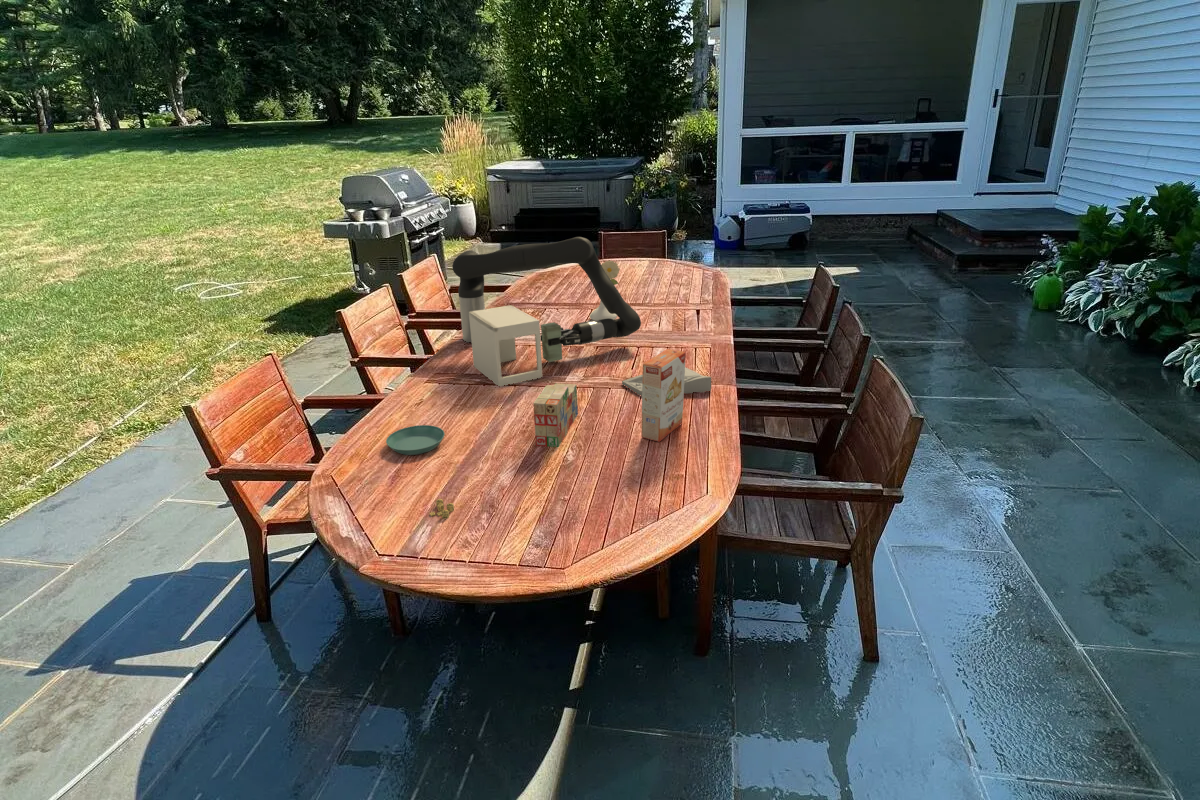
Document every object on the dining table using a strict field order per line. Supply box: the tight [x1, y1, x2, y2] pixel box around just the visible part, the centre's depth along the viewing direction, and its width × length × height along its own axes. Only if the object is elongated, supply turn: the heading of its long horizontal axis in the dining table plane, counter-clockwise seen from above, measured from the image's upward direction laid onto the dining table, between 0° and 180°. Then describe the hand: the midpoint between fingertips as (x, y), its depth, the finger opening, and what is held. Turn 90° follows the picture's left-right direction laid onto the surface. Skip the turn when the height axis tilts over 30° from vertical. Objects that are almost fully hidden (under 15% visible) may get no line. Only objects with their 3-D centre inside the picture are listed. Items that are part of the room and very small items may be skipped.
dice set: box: [429, 498, 455, 520], centre depth 144 cm, size 5×5×2 cm
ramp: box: [621, 366, 712, 397], centre depth 207 cm, size 28×16×5 cm, turn 78°
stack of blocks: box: [532, 382, 579, 448], centre depth 179 cm, size 21×6×12 cm, turn 168°
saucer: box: [385, 424, 446, 456], centre depth 174 cm, size 15×15×3 cm
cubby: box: [469, 304, 543, 387], centre depth 220 cm, size 22×15×19 cm
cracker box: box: [640, 348, 687, 443], centre depth 175 cm, size 14×6×21 cm, turn 148°
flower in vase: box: [589, 260, 621, 321], centre depth 273 cm, size 13×11×25 cm
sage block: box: [540, 322, 563, 363], centre depth 228 cm, size 5×5×12 cm
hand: (544, 340), depth 227 cm, fingers closed on sage block, 5 cm apart
